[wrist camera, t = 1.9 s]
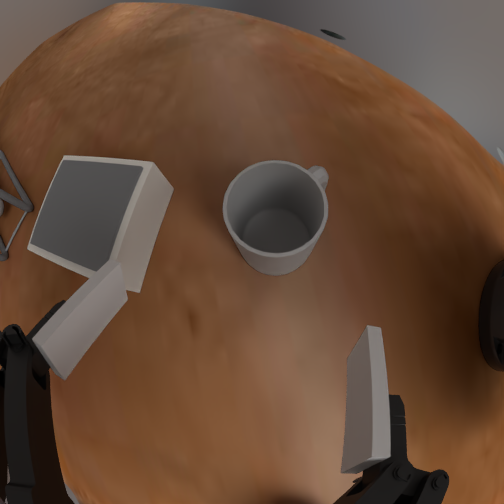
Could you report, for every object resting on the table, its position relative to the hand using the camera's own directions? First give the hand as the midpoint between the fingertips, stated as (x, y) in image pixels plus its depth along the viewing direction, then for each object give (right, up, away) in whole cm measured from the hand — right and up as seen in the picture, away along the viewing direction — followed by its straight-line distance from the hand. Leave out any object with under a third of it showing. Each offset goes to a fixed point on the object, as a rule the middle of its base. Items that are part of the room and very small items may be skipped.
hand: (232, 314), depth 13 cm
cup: (+4, +5, +14) cm, 15 cm away
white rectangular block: (-16, +6, +16) cm, 23 cm away
